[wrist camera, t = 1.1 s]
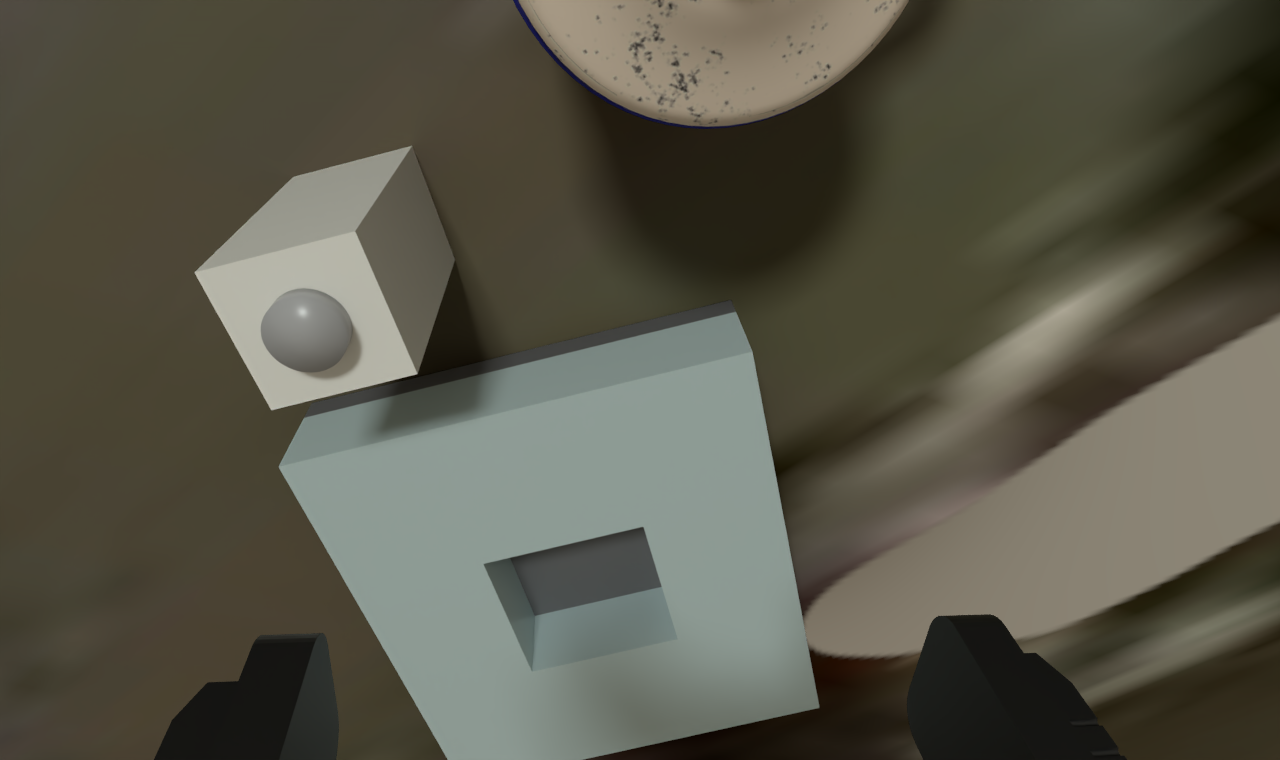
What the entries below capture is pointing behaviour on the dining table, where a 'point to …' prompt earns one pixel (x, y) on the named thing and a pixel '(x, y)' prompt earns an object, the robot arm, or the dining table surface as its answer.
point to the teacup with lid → (708, 52)
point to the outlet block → (568, 540)
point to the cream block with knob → (334, 280)
